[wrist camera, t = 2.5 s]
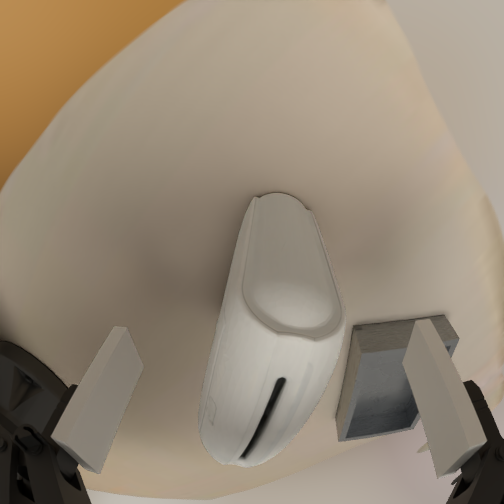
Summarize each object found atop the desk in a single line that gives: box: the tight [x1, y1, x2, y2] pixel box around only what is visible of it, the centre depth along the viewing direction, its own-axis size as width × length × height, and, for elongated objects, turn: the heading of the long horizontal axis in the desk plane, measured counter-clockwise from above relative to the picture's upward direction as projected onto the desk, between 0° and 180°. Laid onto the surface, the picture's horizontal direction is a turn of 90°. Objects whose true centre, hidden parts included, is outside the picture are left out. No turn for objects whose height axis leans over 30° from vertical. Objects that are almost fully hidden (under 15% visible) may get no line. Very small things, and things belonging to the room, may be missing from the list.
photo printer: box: [198, 193, 346, 468], centre depth 14 cm, size 10×4×12 cm, turn 167°
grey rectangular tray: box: [335, 315, 459, 442], centre depth 23 cm, size 8×13×3 cm, turn 5°
